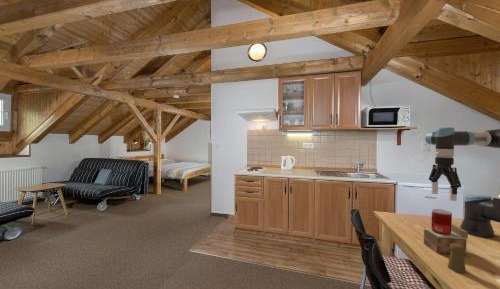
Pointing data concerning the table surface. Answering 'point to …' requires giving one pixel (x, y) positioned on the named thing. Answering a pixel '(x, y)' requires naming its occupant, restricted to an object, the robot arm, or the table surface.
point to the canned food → (441, 221)
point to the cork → (457, 258)
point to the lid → (452, 233)
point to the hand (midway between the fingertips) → (443, 197)
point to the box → (441, 243)
